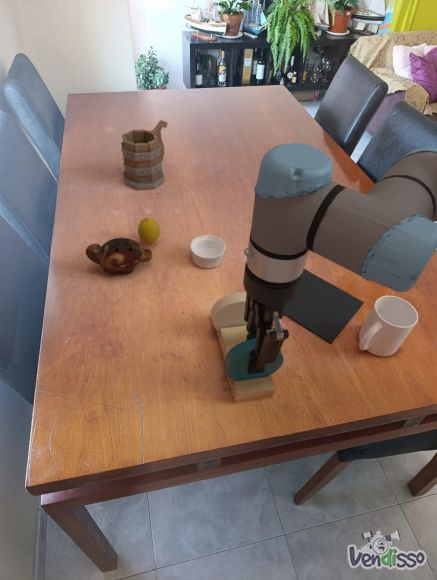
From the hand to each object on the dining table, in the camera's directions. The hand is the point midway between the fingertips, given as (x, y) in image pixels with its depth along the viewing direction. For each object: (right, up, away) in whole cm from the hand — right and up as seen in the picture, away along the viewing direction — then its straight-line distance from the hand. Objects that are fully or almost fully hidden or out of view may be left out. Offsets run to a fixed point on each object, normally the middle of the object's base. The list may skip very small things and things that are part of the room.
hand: (253, 364), depth 66 cm
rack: (-2, -1, +10) cm, 10 cm away
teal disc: (0, +1, -1) cm, 1 cm away
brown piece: (-30, +19, +26) cm, 44 cm away
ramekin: (-9, +21, +30) cm, 38 cm away
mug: (+27, +1, +14) cm, 30 cm away
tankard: (-28, +51, +57) cm, 82 cm away
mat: (+15, +11, +22) cm, 29 cm away
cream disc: (-3, +8, +9) cm, 12 cm away
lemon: (-24, +25, +33) cm, 48 cm away
